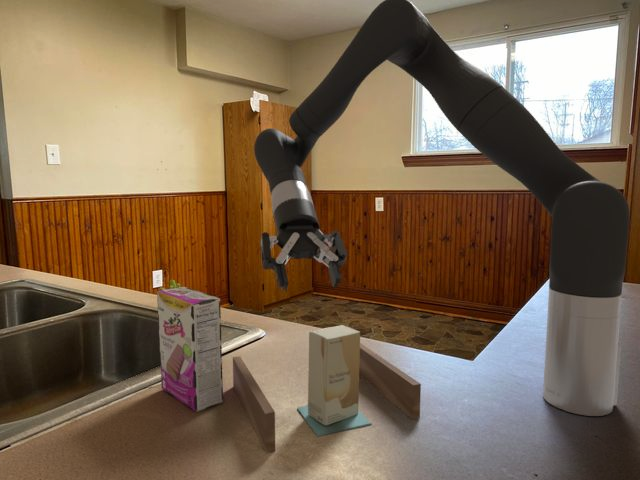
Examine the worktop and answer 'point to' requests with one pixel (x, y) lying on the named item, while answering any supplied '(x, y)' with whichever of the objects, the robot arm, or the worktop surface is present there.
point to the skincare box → (333, 374)
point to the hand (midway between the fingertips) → (311, 285)
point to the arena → (263, 416)
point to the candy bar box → (190, 347)
